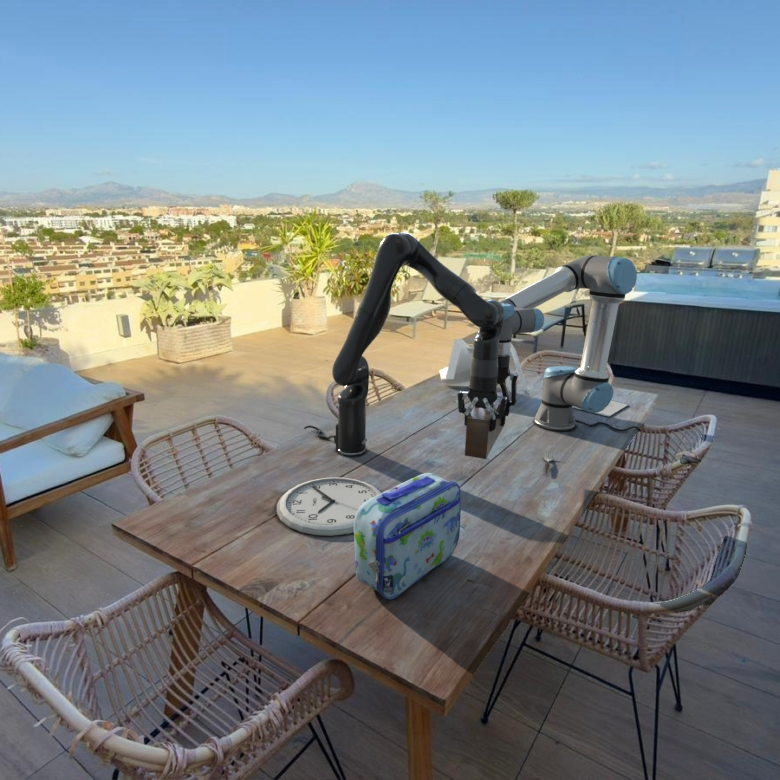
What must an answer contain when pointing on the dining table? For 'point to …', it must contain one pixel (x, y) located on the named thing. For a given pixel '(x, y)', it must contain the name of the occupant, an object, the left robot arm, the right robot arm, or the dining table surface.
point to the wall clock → (324, 505)
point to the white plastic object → (462, 366)
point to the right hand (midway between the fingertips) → (492, 423)
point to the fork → (548, 460)
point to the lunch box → (406, 533)
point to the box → (481, 432)
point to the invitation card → (610, 408)
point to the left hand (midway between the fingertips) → (479, 428)
